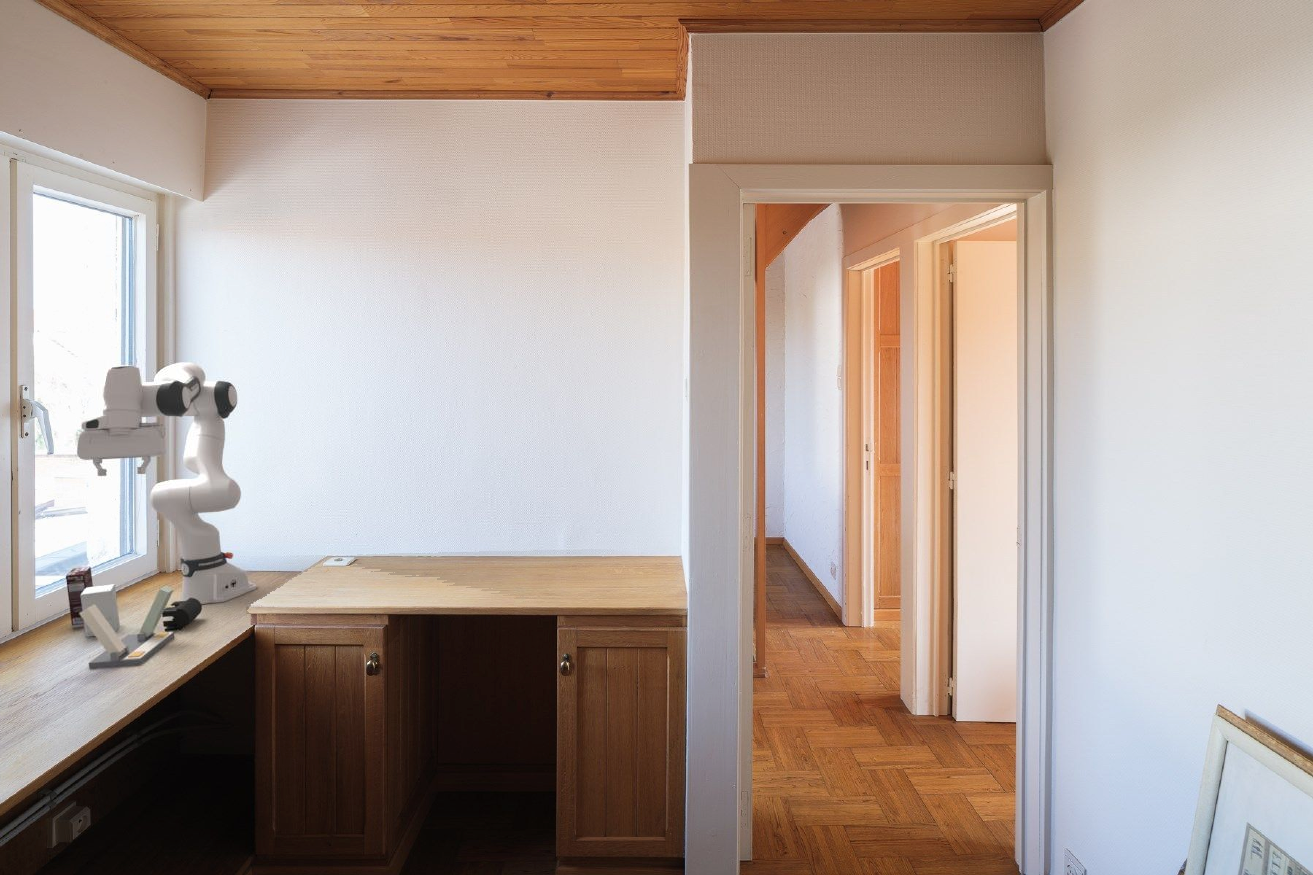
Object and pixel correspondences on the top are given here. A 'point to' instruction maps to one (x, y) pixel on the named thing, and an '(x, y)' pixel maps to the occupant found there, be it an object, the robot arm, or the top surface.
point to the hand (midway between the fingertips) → (121, 474)
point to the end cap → (181, 614)
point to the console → (133, 650)
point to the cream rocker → (103, 630)
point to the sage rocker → (156, 610)
